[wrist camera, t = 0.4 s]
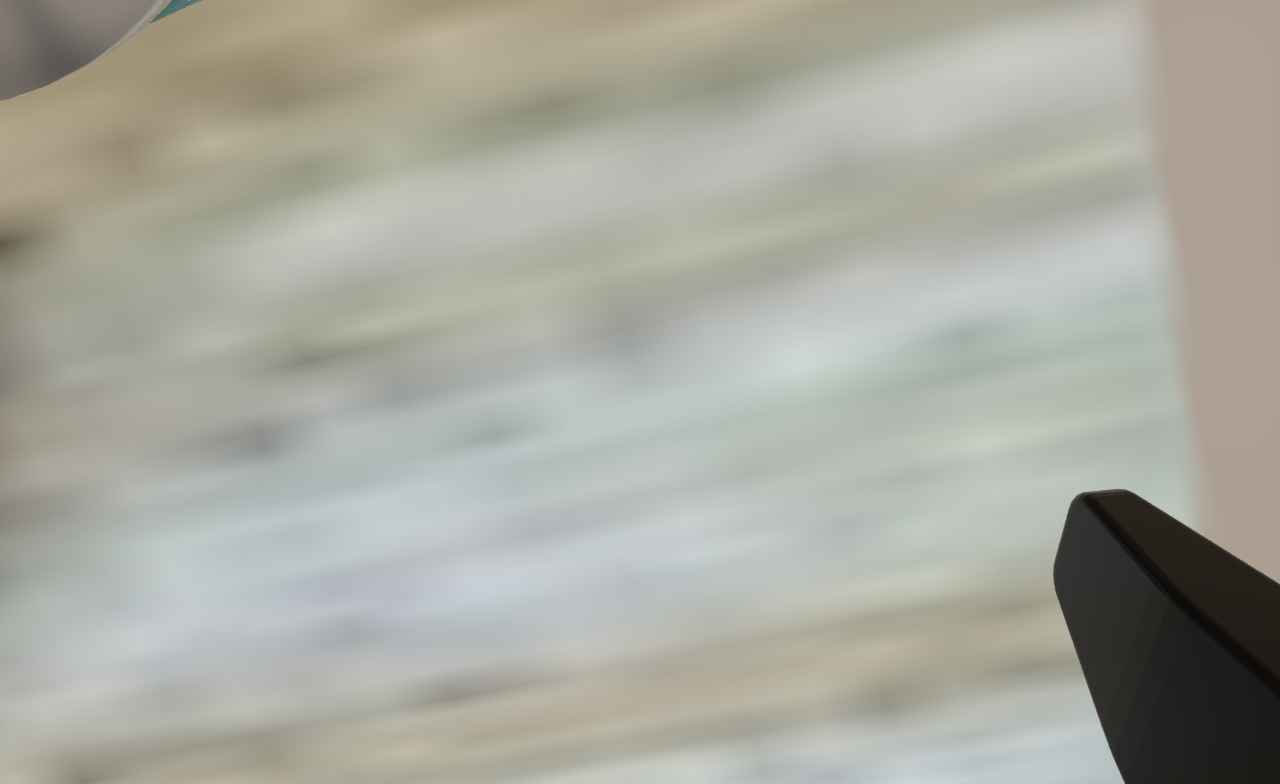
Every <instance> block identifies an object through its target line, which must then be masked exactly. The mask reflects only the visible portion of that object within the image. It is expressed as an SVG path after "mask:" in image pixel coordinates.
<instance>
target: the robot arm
mask: <svg viewBox="0 0 1280 784" xmlns="http://www.w3.org/2000/svg"><path fill="white" fill-rule="evenodd" d="M1053 577H1054V586H1055V591H1056V594H1057V597H1058V600H1059V603H1060V606H1061V609H1062V612H1063V615H1064V618H1065V621H1066V624H1067V627H1068V629H1069V632H1070V635H1071V638H1072V641H1073V644H1074V647H1075V650H1076V653H1077V656H1078V659H1079V662H1080V664H1081V667H1082V670H1083V673H1084V676H1085V679H1086V682H1087V685H1088V688H1089V691H1090V694H1091V697H1092V700H1093V702H1094V705H1095V708H1096V711H1097V714H1098V717H1099V720H1100V723H1101V726H1102V729H1103V731H1104V734H1105V737H1106V739H1107V742H1108V745H1109V747H1110V750H1111V753H1112V755H1113V758H1114V760H1115V762H1116V765H1117V767H1118V769H1119V771H1120V774H1121V776H1122V778H1123V780H1124V783H1125V784H1280V584H1279V583H1277V582H1276V581H1274V580H1273V579H1271V578H1269V577H1268V576H1266V575H1265V574H1263V573H1261V572H1260V571H1258V570H1256V569H1255V568H1253V567H1252V566H1250V565H1248V564H1247V563H1245V562H1244V561H1242V560H1240V559H1239V558H1237V557H1236V556H1234V555H1232V554H1231V553H1229V552H1228V551H1226V550H1224V549H1223V548H1221V547H1220V546H1218V545H1216V544H1215V543H1213V542H1212V541H1210V540H1208V539H1207V538H1205V537H1204V536H1202V535H1200V534H1199V533H1197V532H1196V531H1194V530H1192V529H1191V528H1189V527H1188V526H1186V525H1184V524H1183V523H1181V522H1180V521H1178V520H1176V519H1175V518H1173V517H1172V516H1170V515H1168V514H1167V513H1165V512H1164V511H1162V510H1160V509H1159V508H1157V507H1156V506H1154V505H1152V504H1151V503H1149V502H1148V501H1146V500H1144V499H1143V498H1141V497H1140V496H1138V495H1136V494H1134V493H1132V492H1131V491H1128V490H1124V489H1112V490H1102V491H1091V492H1083V493H1081V494H1079V495H1077V496H1076V497H1075V498H1074V499H1073V501H1072V502H1071V505H1070V507H1069V510H1068V514H1067V518H1066V521H1065V525H1064V529H1063V532H1062V536H1061V540H1060V543H1059V547H1058V551H1057V554H1056V558H1055V562H1054V570H1053Z"/></svg>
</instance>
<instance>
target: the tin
mask: <svg viewBox="0 0 1280 784" xmlns="http://www.w3.org/2000/svg"><path fill="white" fill-rule="evenodd" d="M198 1H201V0H0V100H5V99H9V98H12V97H15V96H18V95H20V94H23V93H26V92H29V91H32V90H35V89H38V88H41V87H43V86H46V85H48V84H51V83H53V82H55V81H57V80H59V79H61V78H63V77H65V76H67V75H69V74H71V73H73V72H75V71H77V70H79V69H81V68H83V67H85V66H87V65H89V64H91V63H93V62H95V61H97V60H99V59H100V58H102V57H104V56H106V55H108V54H110V53H112V52H113V51H114V50H116V49H117V48H119V47H120V46H121V45H123V44H124V43H126V42H127V41H128V40H130V39H131V38H133V37H134V36H135V35H137V34H138V33H139V32H141V31H142V30H143V29H144V28H145V27H146V26H147V25H148V24H149V23H152V22H154V21H156V20H158V19H161V18H163V17H165V16H167V15H169V14H172V13H174V12H176V11H178V10H181V9H183V8H185V7H187V6H190V5H192V4H194V3H196V2H198Z"/></svg>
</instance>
